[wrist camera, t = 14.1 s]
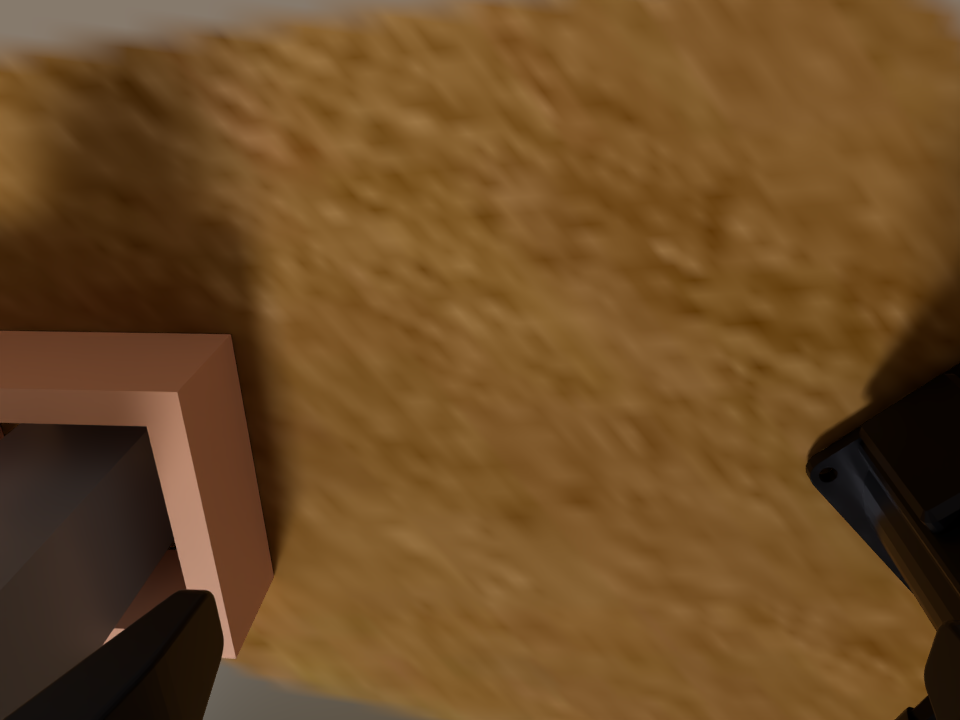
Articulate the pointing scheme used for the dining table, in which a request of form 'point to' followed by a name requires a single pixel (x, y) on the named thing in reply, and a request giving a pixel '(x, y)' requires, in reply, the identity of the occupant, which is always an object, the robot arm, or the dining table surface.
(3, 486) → the plug
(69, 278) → the dining table surface
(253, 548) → the socket
